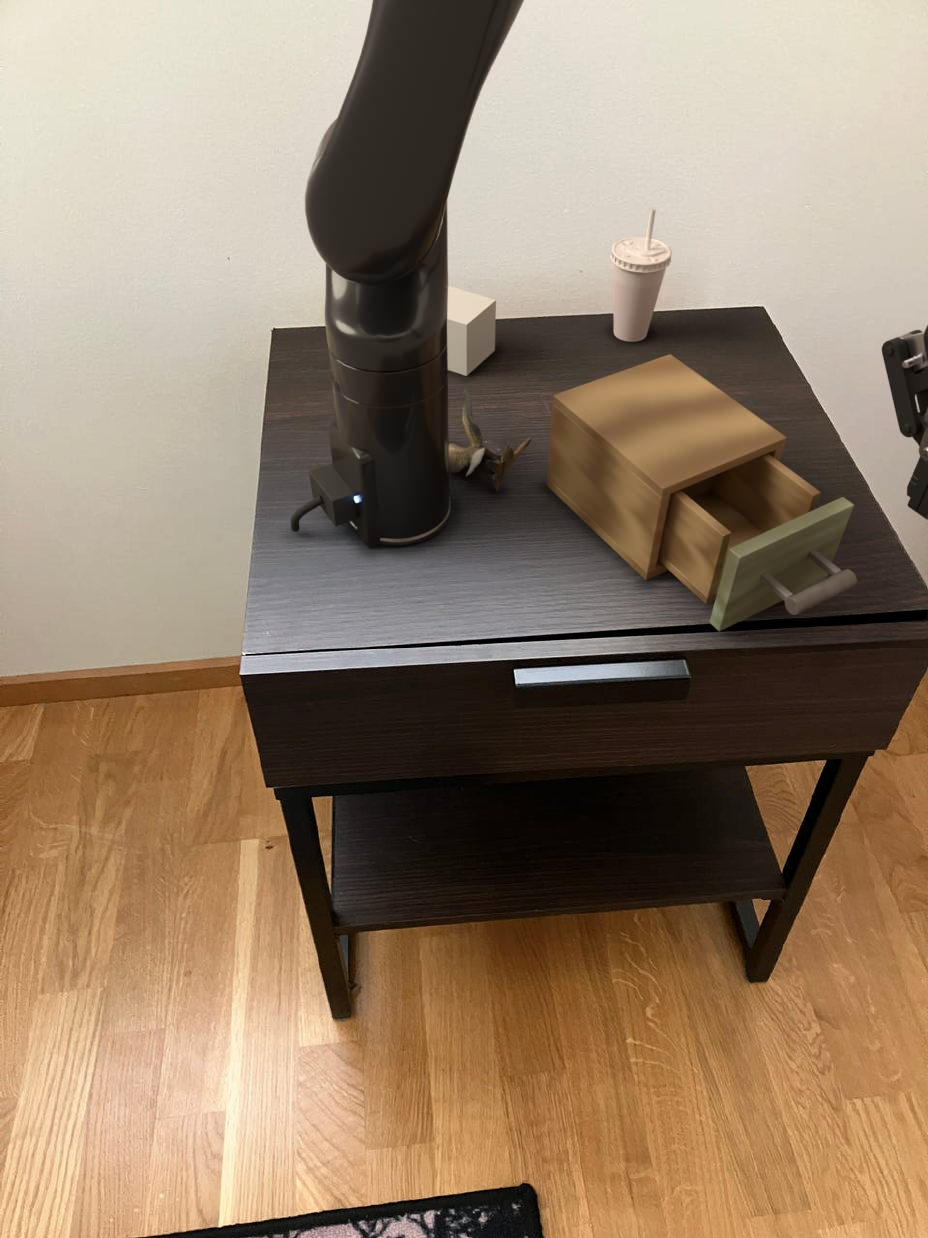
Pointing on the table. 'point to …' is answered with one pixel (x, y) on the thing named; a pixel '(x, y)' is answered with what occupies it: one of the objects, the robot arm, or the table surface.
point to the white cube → (469, 329)
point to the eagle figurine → (480, 450)
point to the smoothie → (637, 282)
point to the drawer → (755, 541)
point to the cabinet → (646, 450)
